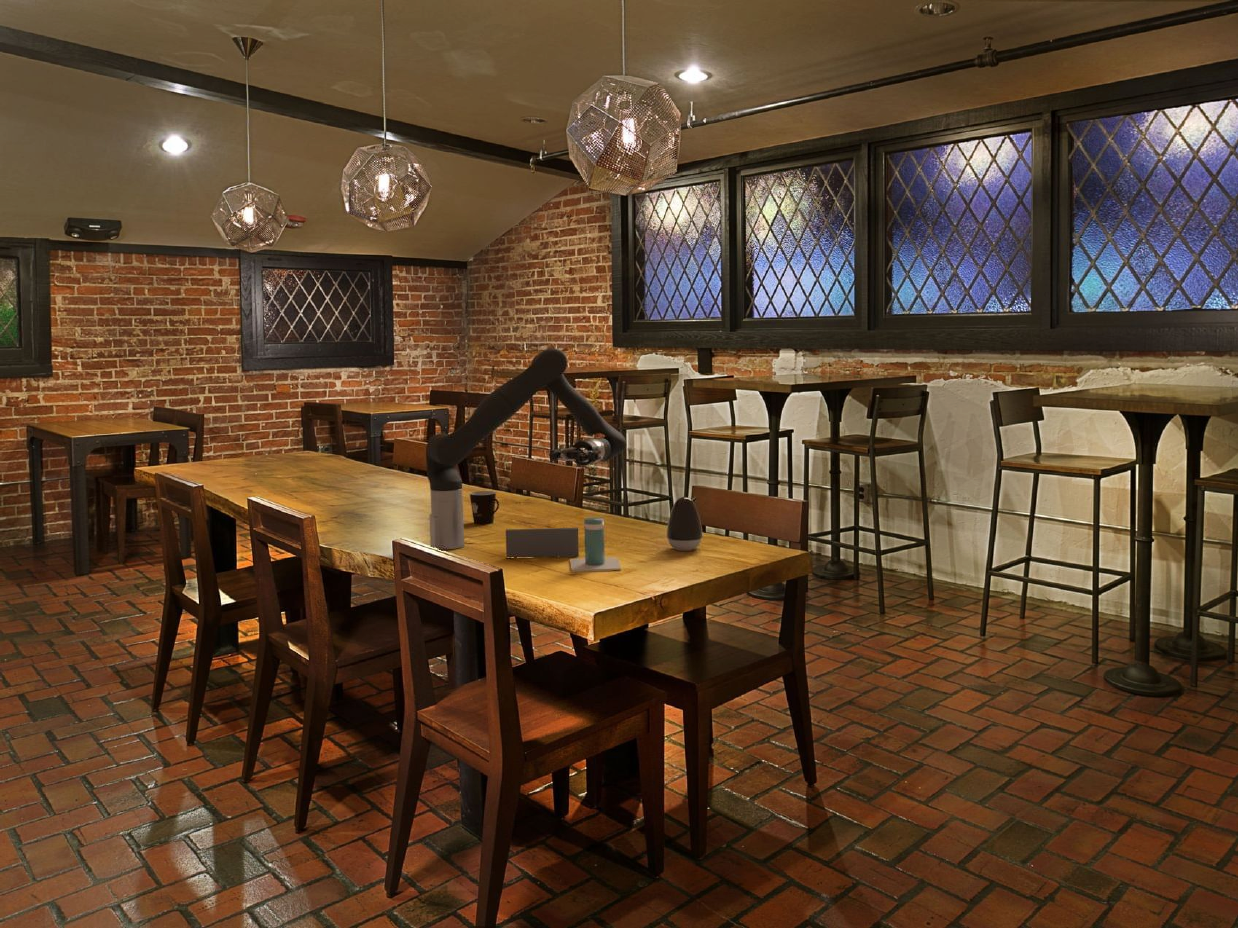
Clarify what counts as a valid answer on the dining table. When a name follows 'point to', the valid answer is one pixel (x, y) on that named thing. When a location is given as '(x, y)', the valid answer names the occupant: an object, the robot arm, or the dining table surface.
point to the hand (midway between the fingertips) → (564, 457)
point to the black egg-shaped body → (684, 525)
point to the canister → (594, 541)
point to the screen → (542, 542)
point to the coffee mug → (483, 506)
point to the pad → (580, 565)
